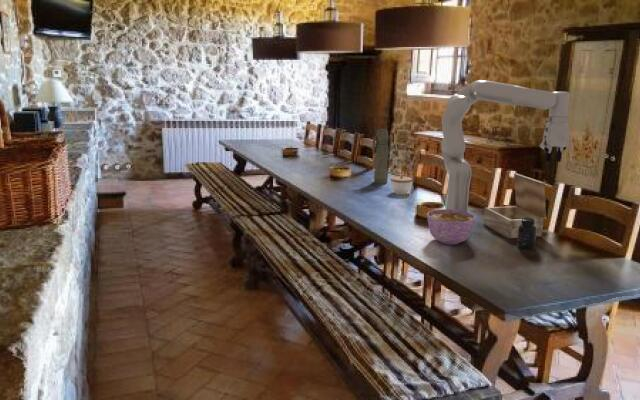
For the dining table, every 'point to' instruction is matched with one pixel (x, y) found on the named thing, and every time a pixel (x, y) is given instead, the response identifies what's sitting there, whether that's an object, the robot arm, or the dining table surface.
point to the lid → (530, 195)
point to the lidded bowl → (401, 184)
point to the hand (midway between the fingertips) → (552, 161)
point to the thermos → (381, 156)
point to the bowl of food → (450, 225)
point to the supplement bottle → (527, 234)
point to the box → (510, 220)
